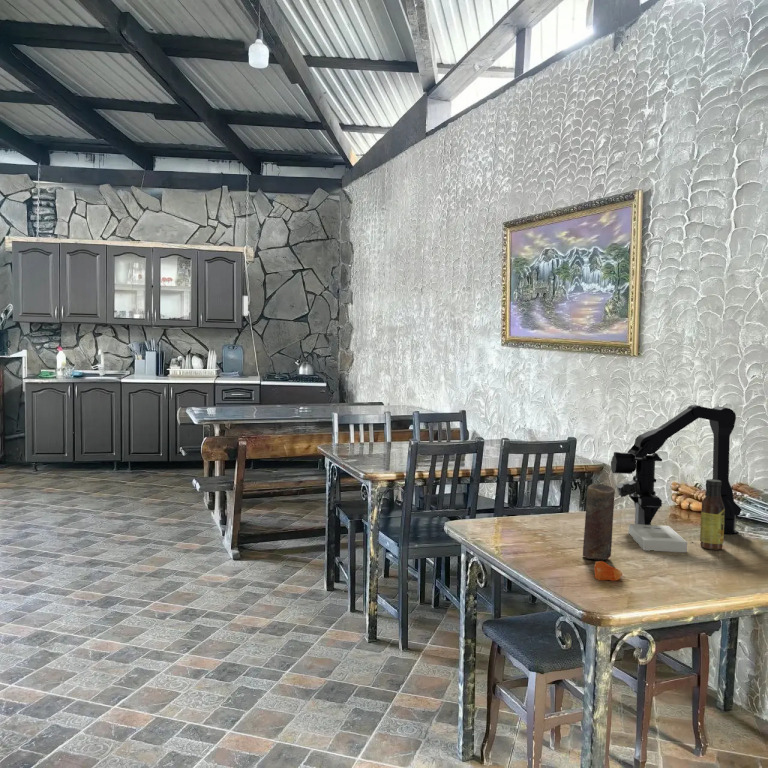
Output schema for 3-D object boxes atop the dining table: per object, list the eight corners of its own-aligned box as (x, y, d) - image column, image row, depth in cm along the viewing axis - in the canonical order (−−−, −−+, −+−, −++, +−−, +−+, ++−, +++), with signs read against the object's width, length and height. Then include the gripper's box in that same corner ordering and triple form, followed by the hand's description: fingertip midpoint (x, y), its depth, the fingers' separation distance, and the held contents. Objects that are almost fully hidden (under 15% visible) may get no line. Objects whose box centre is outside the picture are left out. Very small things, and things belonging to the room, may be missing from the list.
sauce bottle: (725, 551, 202) (729, 483, 201) (702, 549, 203) (705, 481, 202) (719, 545, 208) (723, 479, 207) (697, 543, 209) (700, 477, 208)
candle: (611, 556, 194) (615, 485, 193) (611, 564, 187) (614, 490, 186) (583, 553, 197) (586, 482, 195) (581, 560, 190) (584, 487, 189)
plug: (634, 526, 228) (635, 502, 227) (647, 527, 227) (648, 503, 227) (637, 530, 224) (638, 505, 223) (650, 530, 223) (651, 505, 223)
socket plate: (628, 533, 219) (628, 523, 219) (668, 535, 218) (668, 525, 218) (643, 550, 201) (643, 539, 201) (686, 552, 200) (687, 541, 200)
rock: (636, 591, 169) (636, 573, 169) (583, 586, 171) (584, 569, 171) (628, 574, 181) (628, 558, 181) (579, 571, 183) (580, 555, 183)
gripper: (612, 468, 234) (610, 514, 235) (625, 478, 216) (623, 528, 217) (647, 469, 233) (645, 515, 234) (663, 480, 215) (661, 530, 216)
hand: (642, 522), depth 225 cm, fingers open, 9 cm apart
